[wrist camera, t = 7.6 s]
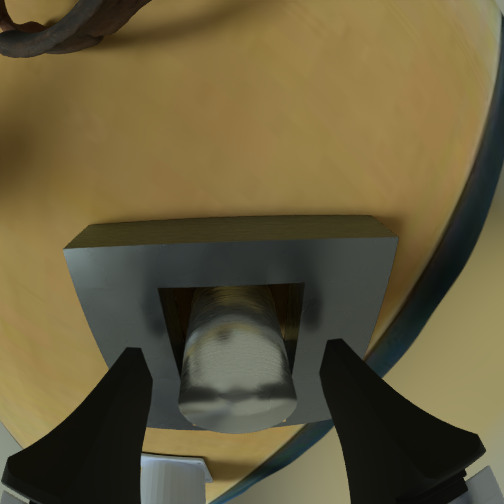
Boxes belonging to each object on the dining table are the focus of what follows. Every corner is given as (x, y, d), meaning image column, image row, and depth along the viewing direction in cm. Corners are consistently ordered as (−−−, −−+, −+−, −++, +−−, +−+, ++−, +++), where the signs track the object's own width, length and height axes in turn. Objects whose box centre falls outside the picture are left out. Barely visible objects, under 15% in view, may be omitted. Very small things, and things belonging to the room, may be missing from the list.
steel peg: (271, 332, 15) (291, 428, 9) (197, 335, 14) (189, 433, 9) (274, 267, 13) (304, 368, 7) (186, 271, 13) (165, 375, 7)
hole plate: (328, 390, 18) (338, 419, 15) (147, 398, 17) (142, 429, 14) (371, 215, 12) (401, 239, 10) (88, 225, 11) (60, 251, 9)
